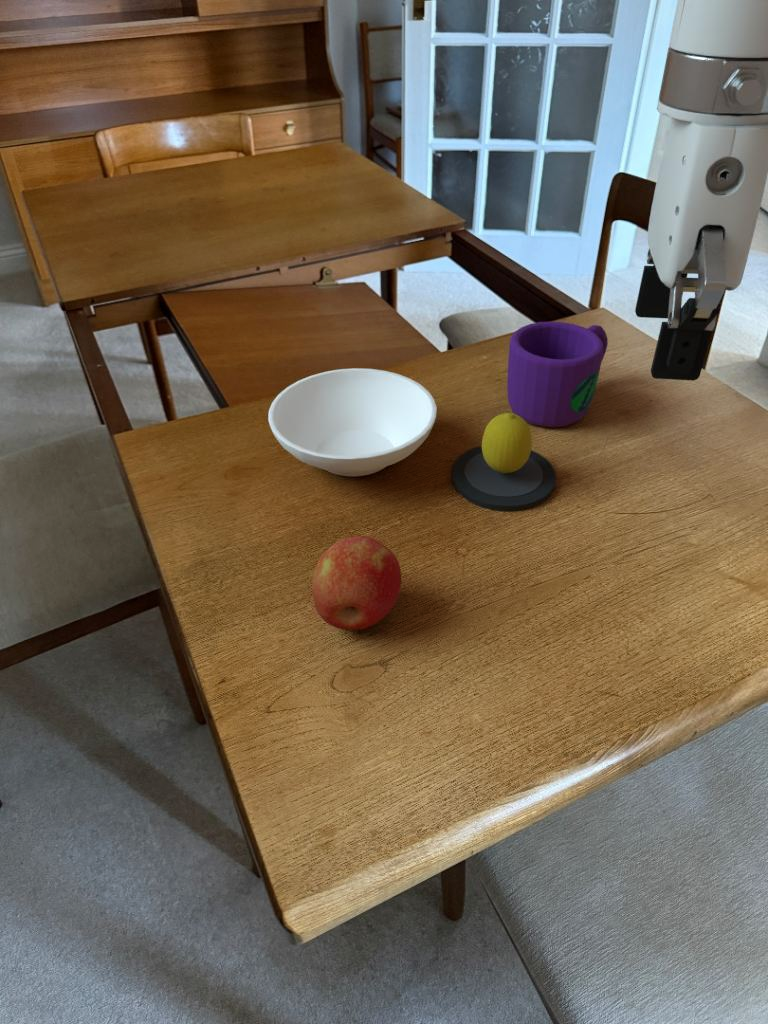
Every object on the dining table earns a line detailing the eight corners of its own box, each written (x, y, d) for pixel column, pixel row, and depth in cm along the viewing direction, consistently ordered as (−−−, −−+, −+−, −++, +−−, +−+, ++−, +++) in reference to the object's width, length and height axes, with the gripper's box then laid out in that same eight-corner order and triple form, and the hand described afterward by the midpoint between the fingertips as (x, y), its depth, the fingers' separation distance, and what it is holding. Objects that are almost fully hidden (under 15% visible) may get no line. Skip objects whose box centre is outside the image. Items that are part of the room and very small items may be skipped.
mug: (555, 444, 91) (566, 372, 85) (485, 409, 98) (491, 340, 91) (634, 393, 100) (649, 324, 94) (565, 364, 107) (575, 298, 100)
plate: (562, 458, 89) (563, 452, 89) (546, 520, 80) (547, 513, 80) (464, 442, 92) (465, 436, 92) (439, 500, 84) (440, 493, 83)
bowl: (464, 442, 92) (467, 394, 88) (377, 530, 80) (375, 479, 75) (337, 399, 101) (334, 353, 96) (241, 472, 88) (232, 424, 84)
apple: (411, 594, 72) (411, 532, 67) (380, 658, 66) (378, 596, 61) (336, 574, 75) (331, 514, 70) (300, 634, 69) (291, 573, 64)
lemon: (490, 491, 83) (495, 431, 78) (472, 463, 87) (476, 404, 82) (535, 482, 84) (544, 422, 79) (516, 455, 88) (523, 397, 83)
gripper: (839, 119, 37) (742, 409, 48) (758, 59, 50) (696, 298, 61) (685, 117, 38) (623, 402, 49) (644, 59, 51) (603, 295, 62)
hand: (663, 344), depth 55 cm, fingers open, 9 cm apart
